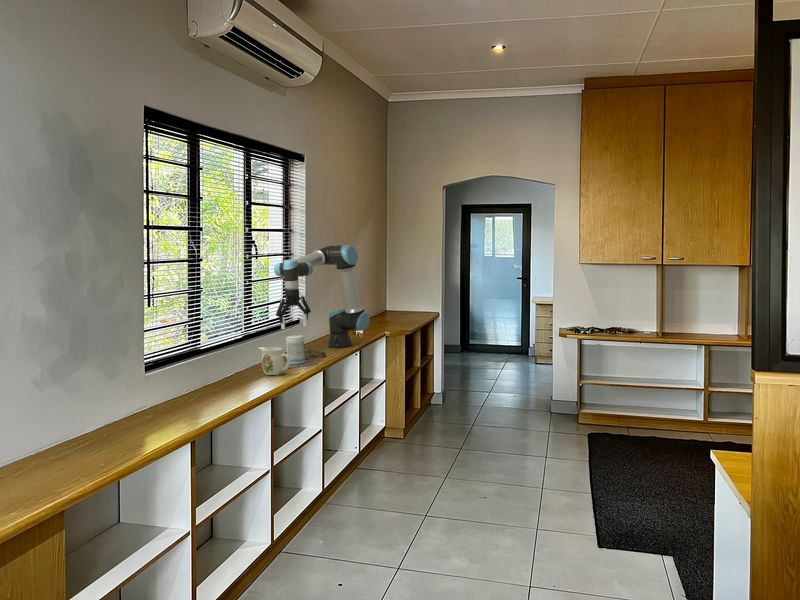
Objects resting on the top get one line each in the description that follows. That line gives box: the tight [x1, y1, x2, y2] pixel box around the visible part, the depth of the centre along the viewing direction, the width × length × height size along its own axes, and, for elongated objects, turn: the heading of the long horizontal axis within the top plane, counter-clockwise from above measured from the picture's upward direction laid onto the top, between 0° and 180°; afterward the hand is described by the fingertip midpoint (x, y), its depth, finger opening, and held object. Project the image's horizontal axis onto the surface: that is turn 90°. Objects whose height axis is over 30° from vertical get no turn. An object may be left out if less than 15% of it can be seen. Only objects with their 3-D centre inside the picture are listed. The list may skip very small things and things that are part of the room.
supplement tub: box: [285, 335, 305, 364], centre depth 377 cm, size 10×10×15 cm
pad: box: [283, 359, 319, 369], centre depth 377 cm, size 18×18×1 cm
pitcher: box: [257, 346, 290, 376], centre depth 349 cm, size 11×18×14 cm, turn 68°
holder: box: [304, 348, 327, 360], centre depth 400 cm, size 14×16×2 cm
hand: (294, 327), depth 376 cm, fingers open, 13 cm apart
